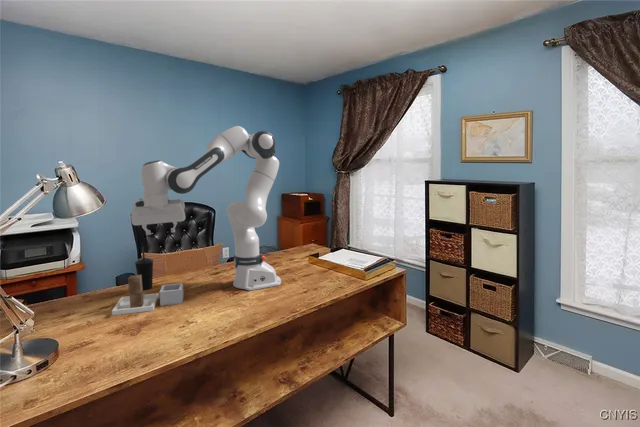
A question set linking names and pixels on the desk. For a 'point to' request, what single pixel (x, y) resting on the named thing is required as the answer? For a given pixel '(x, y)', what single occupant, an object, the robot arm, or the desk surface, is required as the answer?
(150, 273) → the drinking cup
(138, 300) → the walnut peg
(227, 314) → the desk surface
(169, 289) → the box
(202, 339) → the desk surface
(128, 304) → the tray
